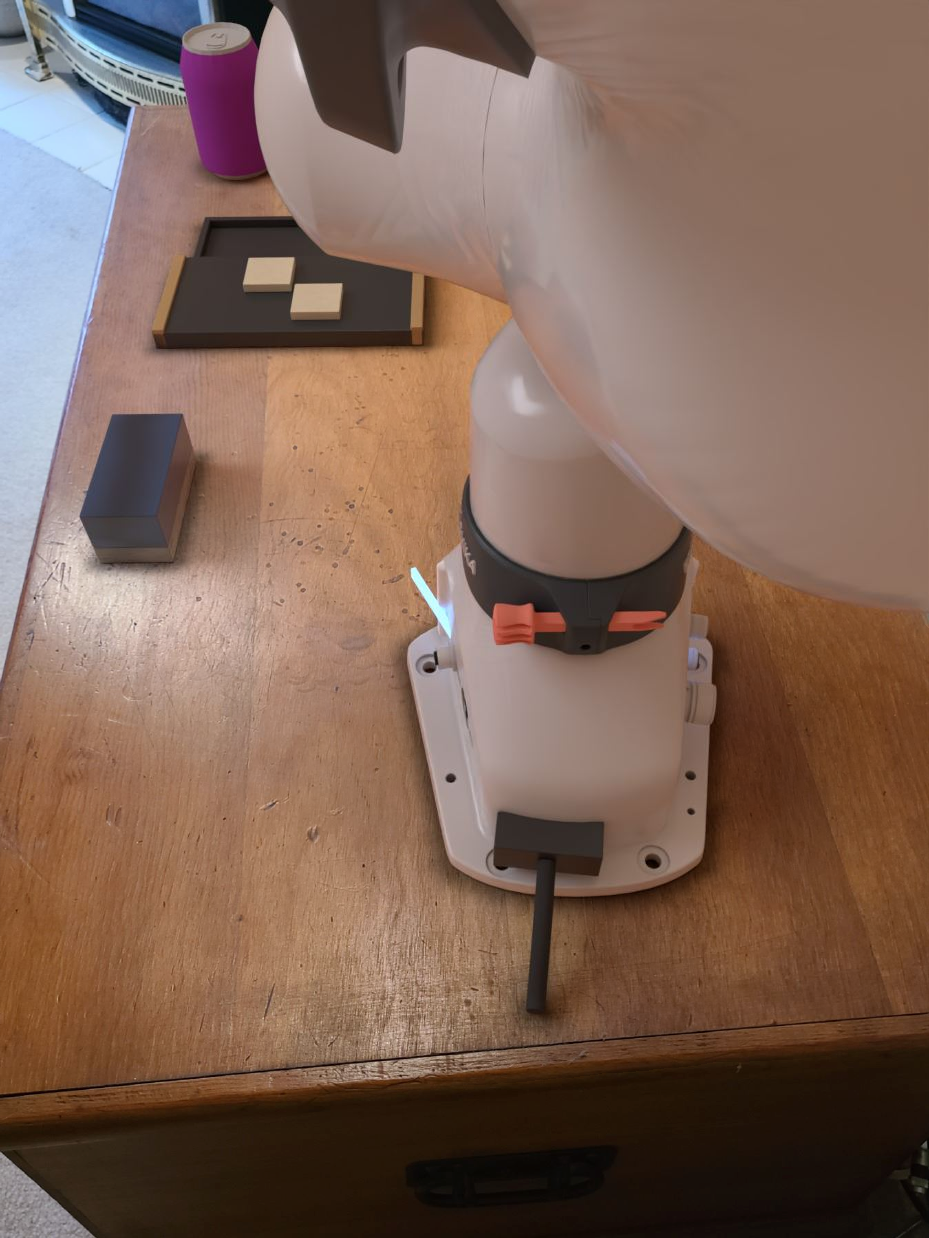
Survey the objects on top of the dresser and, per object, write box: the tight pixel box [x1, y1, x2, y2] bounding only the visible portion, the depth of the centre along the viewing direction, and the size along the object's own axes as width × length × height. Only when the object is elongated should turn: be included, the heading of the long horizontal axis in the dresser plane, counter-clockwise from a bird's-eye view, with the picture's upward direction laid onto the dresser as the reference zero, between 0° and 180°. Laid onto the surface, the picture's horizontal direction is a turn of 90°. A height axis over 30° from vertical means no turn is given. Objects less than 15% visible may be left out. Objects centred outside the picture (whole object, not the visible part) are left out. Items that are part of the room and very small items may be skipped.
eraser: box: [78, 412, 198, 564], centre depth 68 cm, size 5×10×4 cm, turn 0°
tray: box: [193, 215, 332, 257], centre depth 90 cm, size 7×19×1 cm, turn 90°
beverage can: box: [179, 21, 268, 181], centre depth 95 cm, size 8×8×12 cm
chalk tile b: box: [243, 257, 296, 292], centre depth 84 cm, size 4×4×1 cm
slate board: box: [151, 253, 426, 349], centre depth 84 cm, size 11×22×2 cm, turn 91°
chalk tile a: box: [290, 283, 343, 320], centre depth 82 cm, size 4×4×1 cm
